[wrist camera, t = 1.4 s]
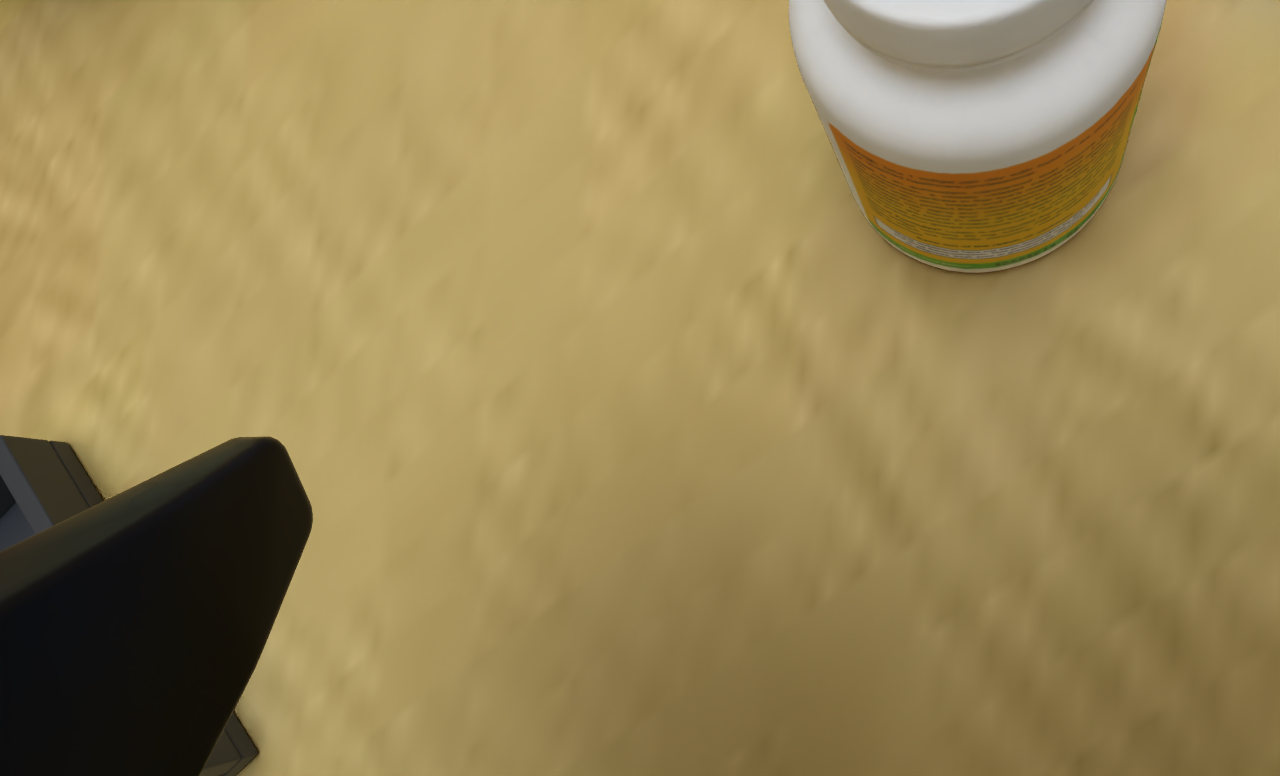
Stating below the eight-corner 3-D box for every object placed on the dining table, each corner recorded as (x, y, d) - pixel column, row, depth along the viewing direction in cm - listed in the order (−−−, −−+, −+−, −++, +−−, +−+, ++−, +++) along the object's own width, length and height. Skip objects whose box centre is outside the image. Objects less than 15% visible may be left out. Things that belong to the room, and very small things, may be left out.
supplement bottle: (1177, 194, 21) (1310, -84, 12) (920, 324, 22) (859, 165, 13) (1039, -23, 22) (1062, -421, 13) (806, 110, 23) (678, -168, 14)
